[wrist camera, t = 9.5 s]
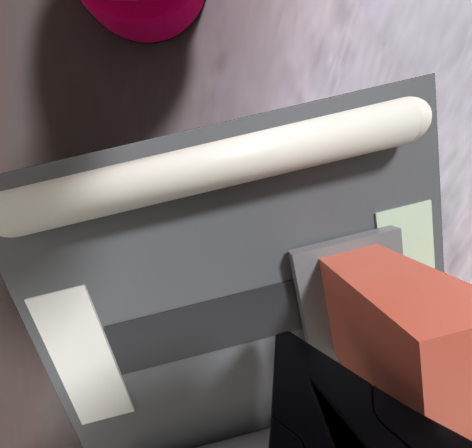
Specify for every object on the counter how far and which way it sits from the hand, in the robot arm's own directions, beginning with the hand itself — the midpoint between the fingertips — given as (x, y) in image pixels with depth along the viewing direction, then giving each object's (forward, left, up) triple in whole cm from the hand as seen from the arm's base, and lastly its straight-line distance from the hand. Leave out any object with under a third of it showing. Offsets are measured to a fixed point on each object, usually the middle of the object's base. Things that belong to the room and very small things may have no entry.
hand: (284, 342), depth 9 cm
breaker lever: (-3, 0, -2) cm, 4 cm away
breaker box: (+1, 0, -6) cm, 6 cm away
